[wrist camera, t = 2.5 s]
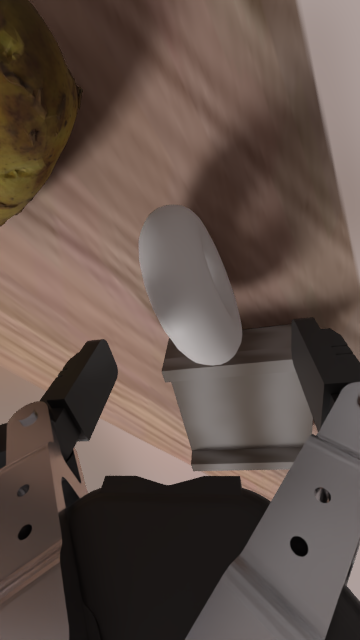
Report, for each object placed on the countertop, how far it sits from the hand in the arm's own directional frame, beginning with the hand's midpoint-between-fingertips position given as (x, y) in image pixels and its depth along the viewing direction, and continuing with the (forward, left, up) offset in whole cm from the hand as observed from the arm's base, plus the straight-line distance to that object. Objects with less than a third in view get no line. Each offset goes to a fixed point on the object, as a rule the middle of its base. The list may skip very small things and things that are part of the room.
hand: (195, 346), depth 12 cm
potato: (-10, +10, -11) cm, 18 cm away
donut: (0, 0, -11) cm, 11 cm away
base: (+2, -14, -11) cm, 18 cm away
